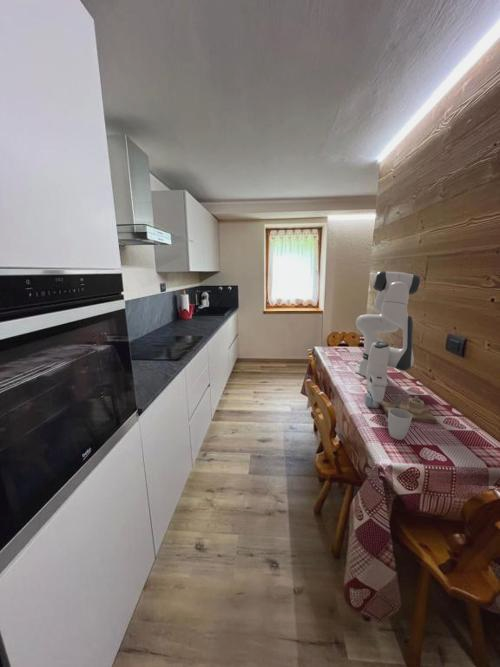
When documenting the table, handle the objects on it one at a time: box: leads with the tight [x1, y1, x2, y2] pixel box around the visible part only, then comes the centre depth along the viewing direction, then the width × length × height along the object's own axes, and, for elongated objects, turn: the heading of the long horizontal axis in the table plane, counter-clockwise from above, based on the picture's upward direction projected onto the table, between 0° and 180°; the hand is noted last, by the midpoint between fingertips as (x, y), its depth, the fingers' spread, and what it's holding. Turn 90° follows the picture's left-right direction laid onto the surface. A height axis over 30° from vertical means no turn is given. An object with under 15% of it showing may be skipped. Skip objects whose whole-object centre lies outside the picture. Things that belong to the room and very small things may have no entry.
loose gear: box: [364, 392, 380, 409], centre depth 130 cm, size 6×6×5 cm
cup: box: [387, 408, 413, 441], centre depth 105 cm, size 8×8×10 cm
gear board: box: [379, 393, 438, 425], centre depth 124 cm, size 14×20×8 cm
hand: (372, 401), depth 130 cm, fingers closed on loose gear, 6 cm apart
